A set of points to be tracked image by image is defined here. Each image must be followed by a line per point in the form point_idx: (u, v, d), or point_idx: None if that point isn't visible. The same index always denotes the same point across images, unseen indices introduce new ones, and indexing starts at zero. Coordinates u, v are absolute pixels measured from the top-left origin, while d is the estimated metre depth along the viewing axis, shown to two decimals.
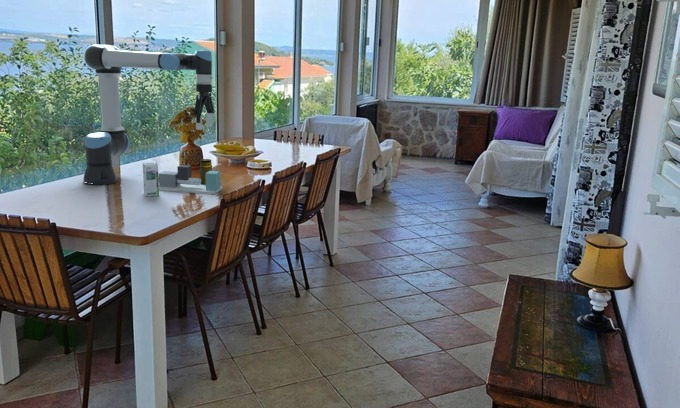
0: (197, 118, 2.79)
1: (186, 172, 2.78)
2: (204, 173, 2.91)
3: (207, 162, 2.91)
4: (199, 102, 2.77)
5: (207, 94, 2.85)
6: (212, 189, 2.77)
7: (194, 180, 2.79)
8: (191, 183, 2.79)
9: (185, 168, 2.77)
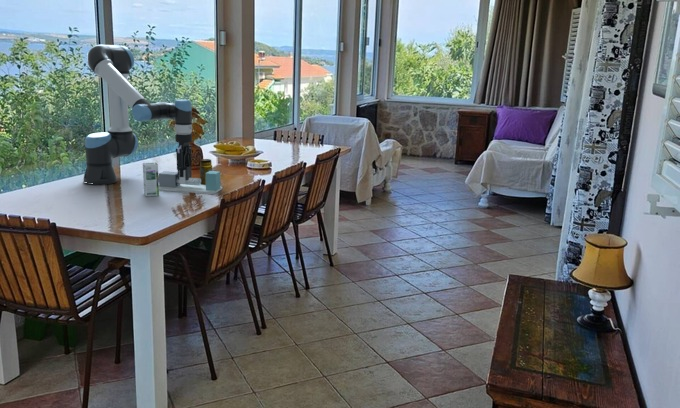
0: (180, 172, 2.76)
1: (186, 172, 2.78)
2: (204, 173, 2.91)
3: (207, 162, 2.91)
4: (180, 157, 2.72)
5: (187, 142, 2.78)
6: (212, 189, 2.77)
7: (194, 180, 2.79)
8: (191, 183, 2.79)
9: (185, 168, 2.77)
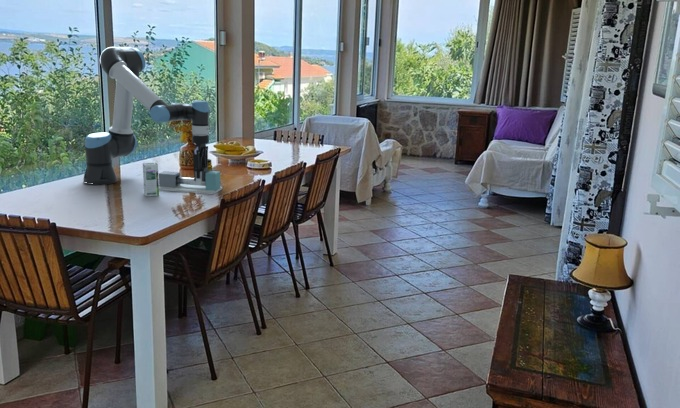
0: (197, 174, 2.75)
1: (202, 173, 2.76)
2: None
3: None
4: (197, 158, 2.71)
5: (204, 144, 2.77)
6: (212, 189, 2.77)
7: None
8: None
9: (202, 169, 2.76)
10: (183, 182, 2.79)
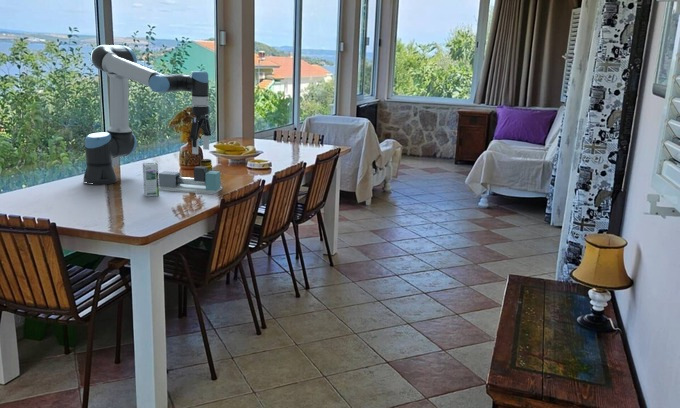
0: (193, 142, 2.67)
1: (202, 173, 2.76)
2: None
3: (207, 162, 2.91)
4: (195, 126, 2.66)
5: (204, 116, 2.74)
6: (212, 189, 2.77)
7: None
8: None
9: (201, 169, 2.76)
10: (183, 182, 2.79)
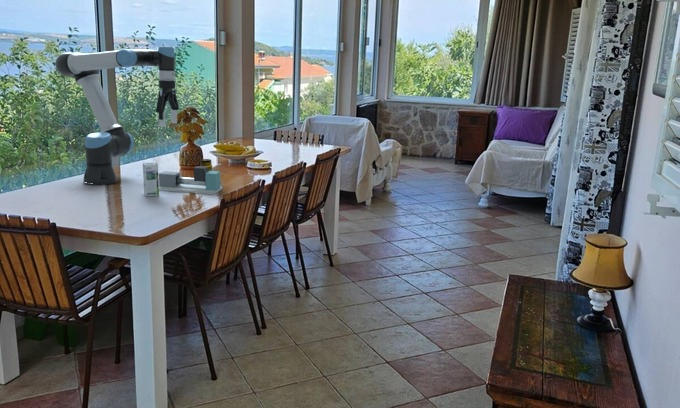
0: (160, 115, 2.76)
1: (202, 173, 2.76)
2: None
3: (207, 162, 2.91)
4: (161, 99, 2.74)
5: (170, 91, 2.83)
6: (212, 189, 2.77)
7: None
8: None
9: (201, 169, 2.76)
10: (183, 182, 2.79)
